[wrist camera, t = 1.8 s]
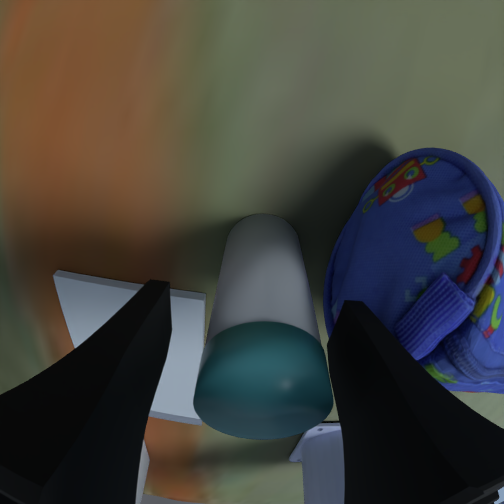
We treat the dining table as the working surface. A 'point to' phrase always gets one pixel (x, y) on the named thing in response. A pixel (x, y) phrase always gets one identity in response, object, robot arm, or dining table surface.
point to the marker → (263, 339)
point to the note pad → (181, 343)
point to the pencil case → (429, 266)
